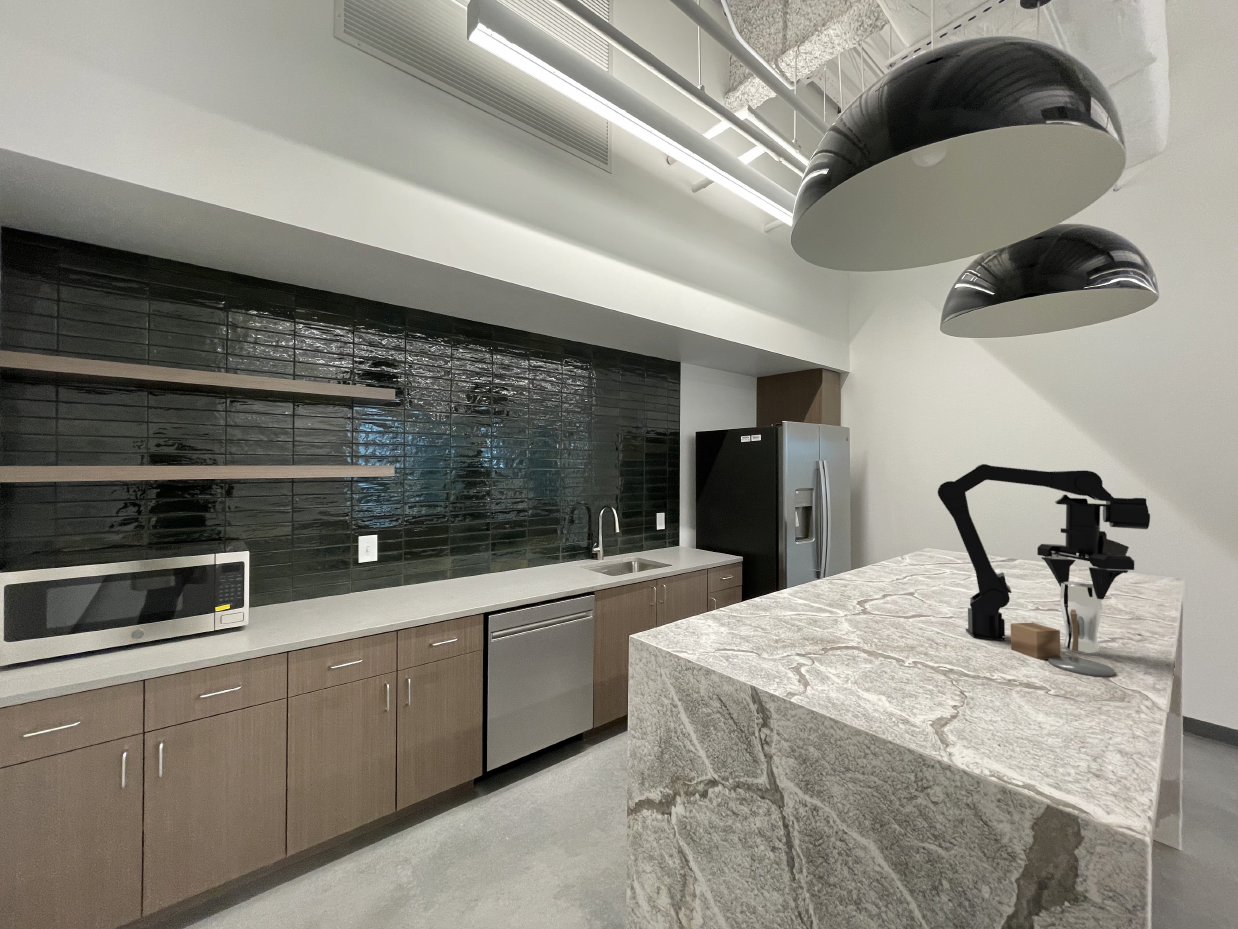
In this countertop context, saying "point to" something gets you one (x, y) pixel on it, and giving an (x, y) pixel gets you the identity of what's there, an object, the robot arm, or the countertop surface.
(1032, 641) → the walnut block
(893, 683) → the countertop surface
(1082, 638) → the beer glass
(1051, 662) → the slate coaster
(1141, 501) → the robot arm
